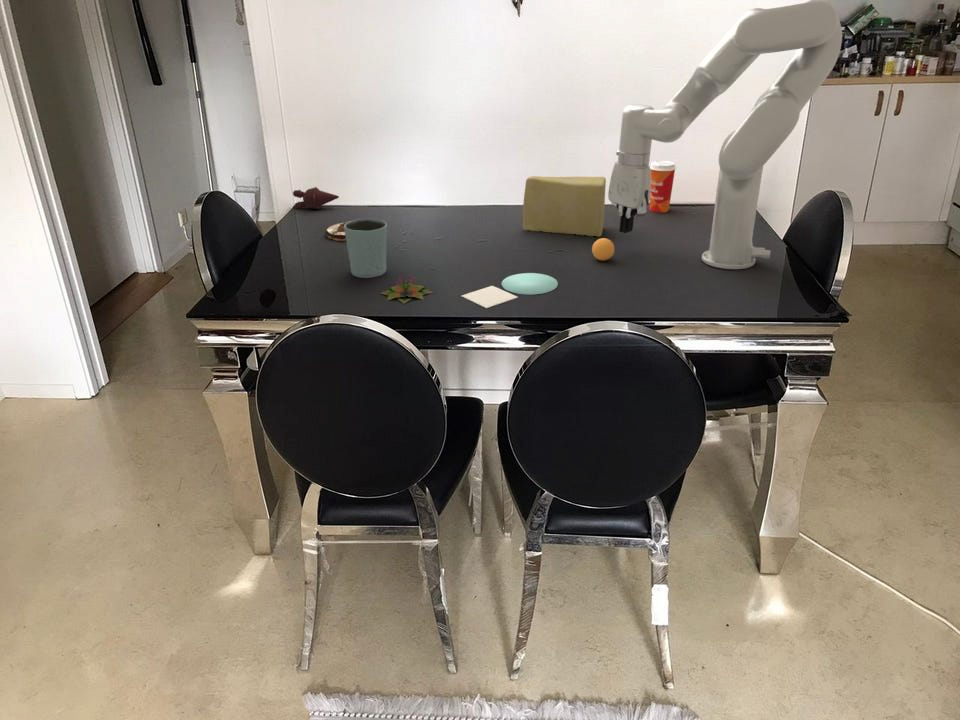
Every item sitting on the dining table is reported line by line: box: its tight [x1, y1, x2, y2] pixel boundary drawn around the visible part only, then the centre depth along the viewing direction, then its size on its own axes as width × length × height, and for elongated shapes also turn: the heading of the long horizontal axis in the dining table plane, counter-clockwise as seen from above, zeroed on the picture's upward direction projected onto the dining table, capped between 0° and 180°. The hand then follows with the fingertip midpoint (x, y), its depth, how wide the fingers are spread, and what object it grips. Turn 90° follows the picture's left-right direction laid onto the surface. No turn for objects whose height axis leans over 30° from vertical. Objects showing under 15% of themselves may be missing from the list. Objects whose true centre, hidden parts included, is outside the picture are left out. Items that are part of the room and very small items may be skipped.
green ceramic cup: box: [344, 218, 388, 279], centre depth 180 cm, size 10×10×12 cm
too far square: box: [461, 285, 519, 309], centre depth 167 cm, size 9×9×1 cm
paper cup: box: [649, 160, 677, 214], centre depth 220 cm, size 8×8×14 cm
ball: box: [591, 237, 615, 262], centre depth 185 cm, size 6×6×6 cm
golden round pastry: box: [325, 220, 350, 242], centre depth 209 cm, size 15×15×4 cm
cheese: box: [522, 175, 607, 238], centre depth 204 cm, size 22×10×15 cm, turn 78°
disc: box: [501, 272, 559, 296], centre depth 173 cm, size 13×13×1 cm
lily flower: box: [378, 274, 435, 304], centre depth 169 cm, size 12×12×5 cm
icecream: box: [292, 186, 340, 210], centre depth 232 cm, size 7×7×15 cm
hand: (625, 231), depth 189 cm, fingers closed
